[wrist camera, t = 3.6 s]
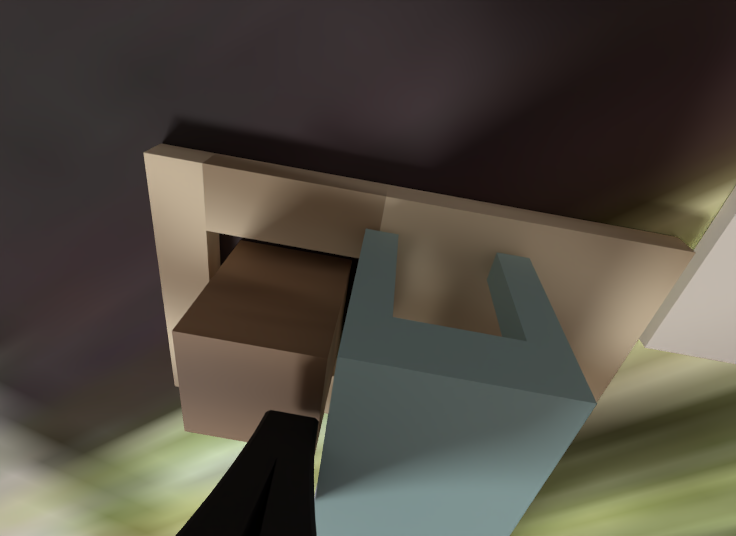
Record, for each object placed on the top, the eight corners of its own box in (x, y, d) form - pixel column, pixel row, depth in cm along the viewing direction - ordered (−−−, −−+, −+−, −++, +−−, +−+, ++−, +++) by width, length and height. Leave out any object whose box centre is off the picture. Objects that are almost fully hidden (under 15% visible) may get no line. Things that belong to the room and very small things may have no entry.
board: (554, 435, 18) (561, 455, 18) (185, 368, 18) (174, 385, 18) (677, 237, 13) (695, 252, 12) (161, 143, 13) (143, 152, 12)
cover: (458, 426, 17) (475, 586, 12) (336, 404, 17) (305, 556, 12) (529, 258, 13) (597, 403, 8) (366, 228, 13) (337, 357, 8)
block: (339, 343, 17) (314, 454, 13) (242, 325, 17) (184, 430, 13) (352, 259, 15) (327, 358, 11) (240, 239, 15) (171, 330, 11)
